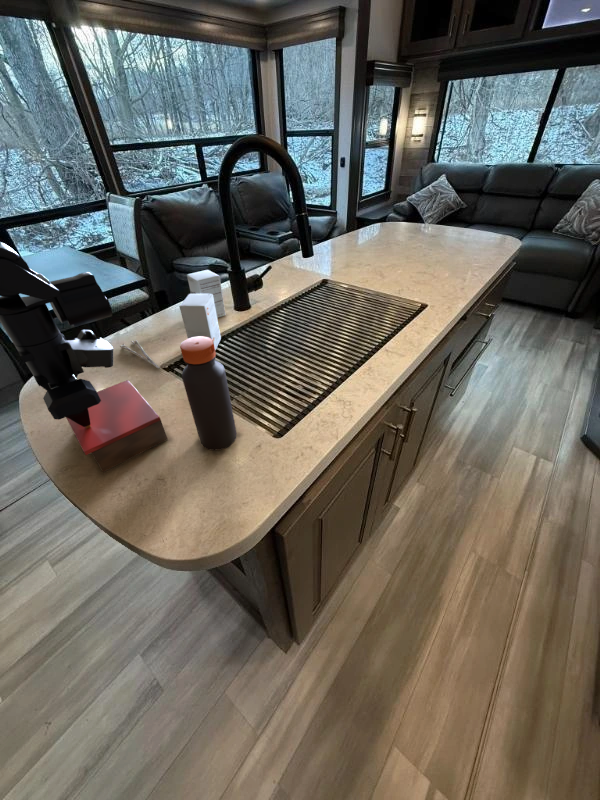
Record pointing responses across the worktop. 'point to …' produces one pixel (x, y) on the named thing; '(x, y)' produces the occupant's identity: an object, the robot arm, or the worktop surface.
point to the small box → (200, 317)
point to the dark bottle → (208, 393)
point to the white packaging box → (208, 288)
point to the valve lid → (114, 417)
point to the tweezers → (139, 354)
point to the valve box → (130, 446)
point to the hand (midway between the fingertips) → (82, 418)
